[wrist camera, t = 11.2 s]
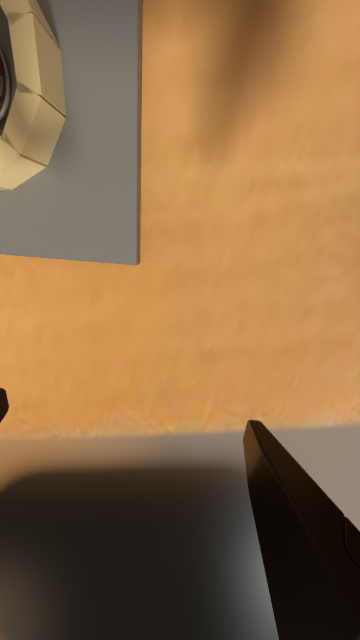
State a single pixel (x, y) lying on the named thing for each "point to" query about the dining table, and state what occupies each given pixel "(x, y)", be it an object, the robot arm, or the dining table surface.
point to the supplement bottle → (4, 86)
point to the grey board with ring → (72, 130)
